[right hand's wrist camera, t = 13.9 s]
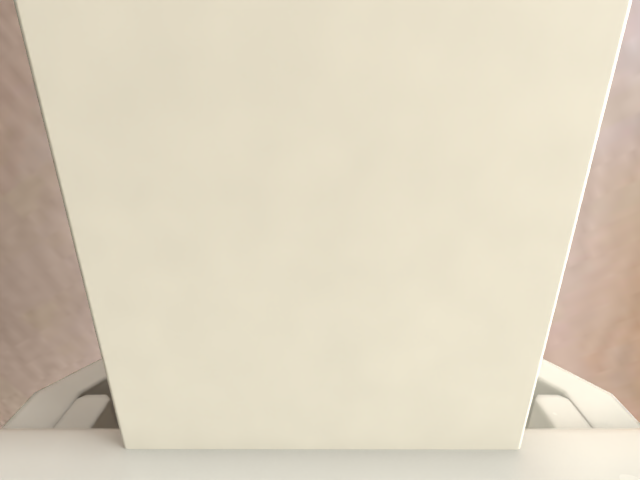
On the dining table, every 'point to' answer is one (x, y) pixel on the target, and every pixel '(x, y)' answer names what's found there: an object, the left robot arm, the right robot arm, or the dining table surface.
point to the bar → (322, 208)
